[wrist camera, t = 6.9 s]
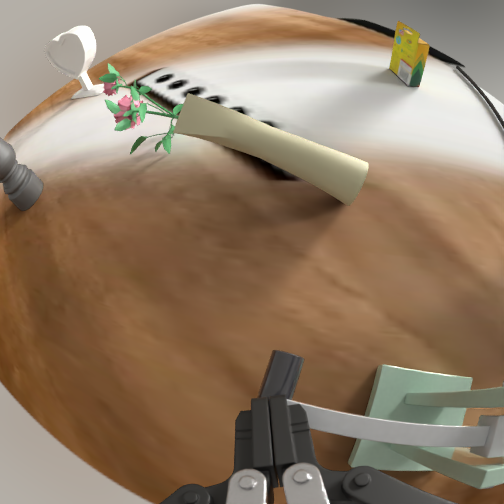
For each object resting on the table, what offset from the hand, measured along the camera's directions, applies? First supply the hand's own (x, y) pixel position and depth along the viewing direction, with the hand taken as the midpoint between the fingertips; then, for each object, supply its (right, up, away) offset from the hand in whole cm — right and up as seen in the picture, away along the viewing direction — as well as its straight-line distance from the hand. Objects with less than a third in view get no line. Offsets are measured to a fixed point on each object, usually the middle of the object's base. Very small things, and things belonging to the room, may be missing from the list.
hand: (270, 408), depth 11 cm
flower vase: (-5, +18, +22) cm, 29 cm away
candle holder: (-38, +16, +25) cm, 48 cm away
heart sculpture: (-39, +45, +39) cm, 71 cm away
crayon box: (+28, +40, +29) cm, 57 cm away
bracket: (+13, -8, +7) cm, 17 cm away
